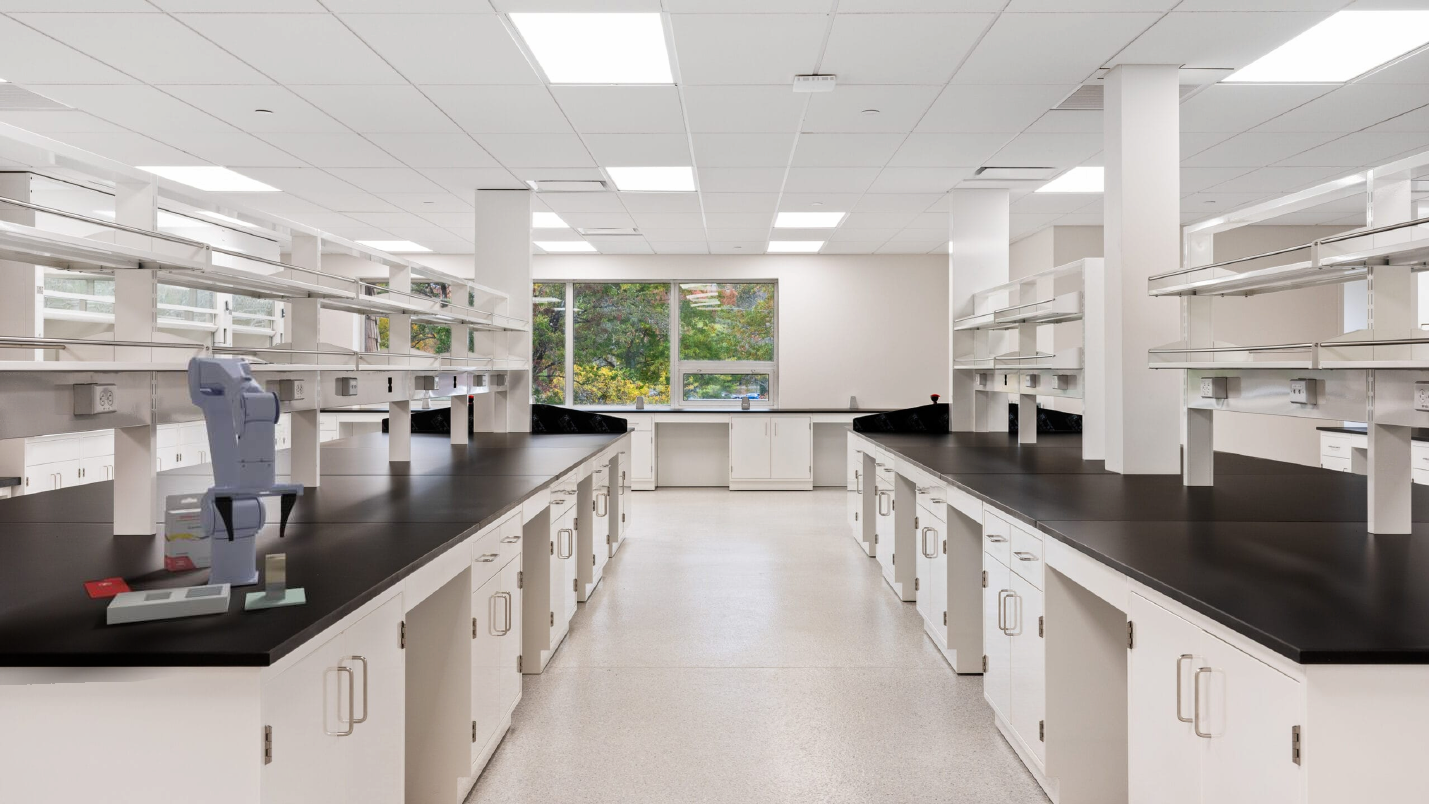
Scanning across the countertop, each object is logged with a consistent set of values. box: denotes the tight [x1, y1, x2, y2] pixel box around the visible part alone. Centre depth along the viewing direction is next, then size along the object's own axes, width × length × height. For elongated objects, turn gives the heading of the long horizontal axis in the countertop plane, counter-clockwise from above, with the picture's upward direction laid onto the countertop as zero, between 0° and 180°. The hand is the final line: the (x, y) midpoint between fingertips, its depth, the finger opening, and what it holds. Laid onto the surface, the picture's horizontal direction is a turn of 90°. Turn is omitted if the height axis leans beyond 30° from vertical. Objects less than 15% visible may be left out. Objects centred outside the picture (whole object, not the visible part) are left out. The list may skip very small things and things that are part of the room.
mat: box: [244, 587, 306, 611], centre depth 141 cm, size 10×9×1 cm
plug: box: [265, 553, 286, 601], centre depth 141 cm, size 4×3×7 cm, turn 28°
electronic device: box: [83, 577, 132, 600], centre depth 148 cm, size 6×1×15 cm
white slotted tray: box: [106, 583, 231, 625], centre depth 134 cm, size 10×16×3 cm, turn 118°
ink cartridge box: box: [163, 492, 211, 572], centre depth 165 cm, size 9×5×15 cm, turn 137°
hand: (256, 538), depth 142 cm, fingers open, 7 cm apart
